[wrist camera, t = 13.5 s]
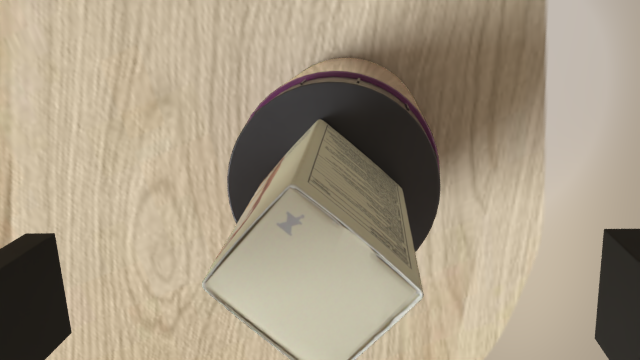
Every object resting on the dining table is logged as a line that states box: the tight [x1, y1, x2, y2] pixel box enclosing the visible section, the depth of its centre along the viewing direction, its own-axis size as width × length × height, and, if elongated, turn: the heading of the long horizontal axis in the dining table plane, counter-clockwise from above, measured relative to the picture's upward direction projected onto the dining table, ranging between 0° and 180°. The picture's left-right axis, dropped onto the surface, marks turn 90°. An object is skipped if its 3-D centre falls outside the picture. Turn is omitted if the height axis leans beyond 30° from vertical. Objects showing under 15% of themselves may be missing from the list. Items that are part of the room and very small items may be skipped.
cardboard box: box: [202, 119, 423, 360], centre depth 21 cm, size 5×4×10 cm
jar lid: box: [227, 77, 440, 252], centre depth 27 cm, size 10×10×2 cm
